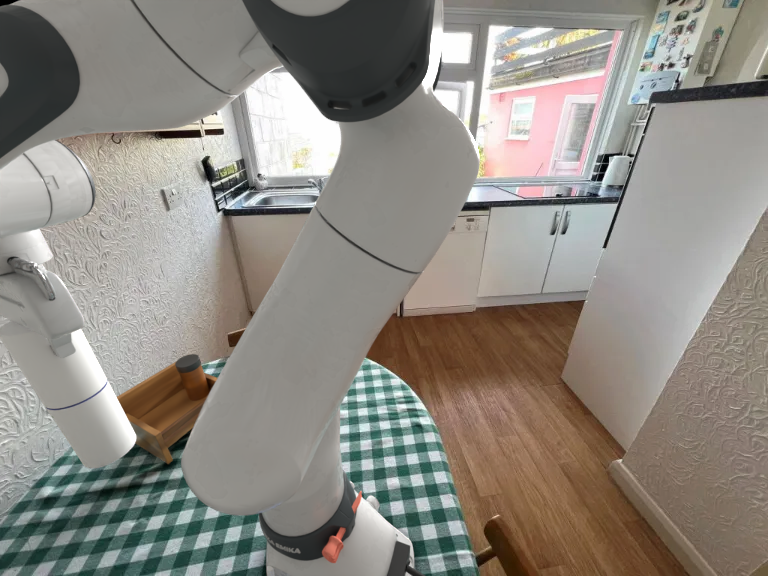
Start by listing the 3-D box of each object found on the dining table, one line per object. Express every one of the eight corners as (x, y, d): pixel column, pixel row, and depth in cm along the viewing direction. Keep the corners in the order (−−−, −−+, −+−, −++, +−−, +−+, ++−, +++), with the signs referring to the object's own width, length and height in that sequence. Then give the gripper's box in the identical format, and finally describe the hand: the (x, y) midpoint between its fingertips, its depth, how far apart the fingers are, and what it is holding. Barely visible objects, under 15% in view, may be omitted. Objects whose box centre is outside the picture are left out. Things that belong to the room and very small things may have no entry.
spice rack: (234, 407, 75) (220, 358, 68) (168, 464, 62) (142, 409, 55) (201, 392, 79) (184, 345, 73) (133, 442, 66) (106, 389, 60)
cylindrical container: (106, 472, 49) (24, 338, 38) (70, 464, 50) (-19, 333, 39) (146, 433, 55) (85, 310, 44) (113, 428, 56) (46, 306, 46)
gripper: (72, 255, 36) (118, 352, 42) (0, 237, 44) (47, 321, 50) (-7, 274, 31) (58, 382, 37) (-72, 251, 39) (-10, 342, 45)
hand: (51, 346), depth 44 cm, fingers closed on cylindrical container, 7 cm apart
